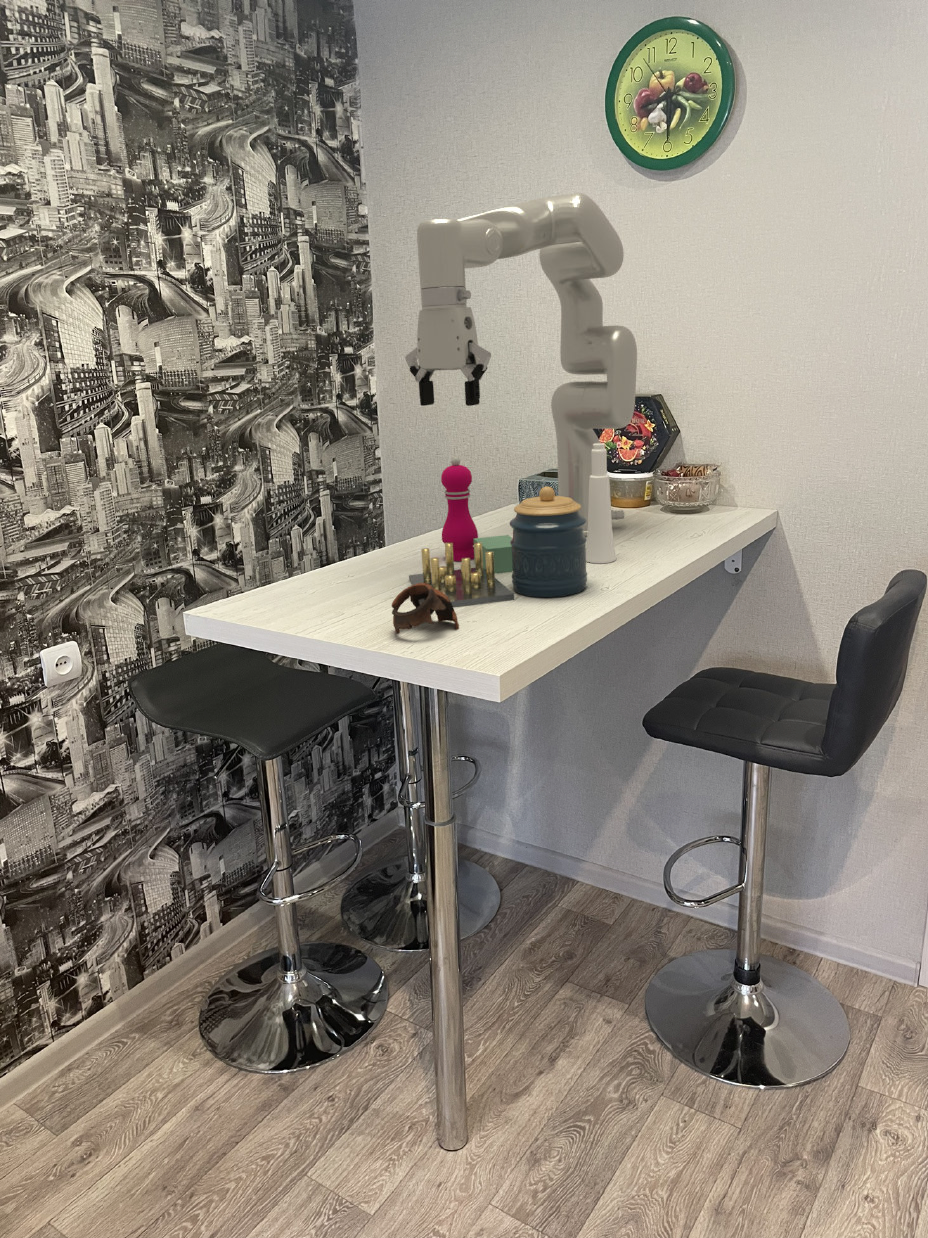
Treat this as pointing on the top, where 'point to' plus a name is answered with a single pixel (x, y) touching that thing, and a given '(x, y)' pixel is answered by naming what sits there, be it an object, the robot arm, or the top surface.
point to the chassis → (463, 578)
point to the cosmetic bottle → (599, 511)
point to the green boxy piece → (497, 552)
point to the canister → (548, 546)
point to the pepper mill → (458, 511)
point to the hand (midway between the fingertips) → (449, 405)
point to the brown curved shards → (422, 607)
